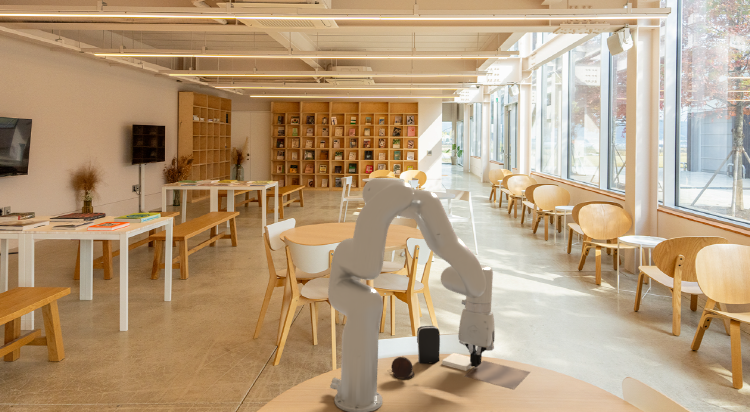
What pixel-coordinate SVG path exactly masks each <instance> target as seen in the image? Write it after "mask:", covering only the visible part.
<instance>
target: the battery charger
mask: <svg viewBox="0 0 750 412" xmlns="http://www.w3.org/2000/svg"><path fill="white" fill-rule="evenodd" d="M440 336H441V335H440V329H439V328H438V327H437V326H436V325H424V326H419V327H418V328H417V332H416V343H417V352H418V357H417V359H418V360H417V361H418V363H419V364H422V365H423V364H435V363H439V362H440V360H441V359H440V351H441V349H440V347H441V344H440V343H441V337H440Z"/></svg>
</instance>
